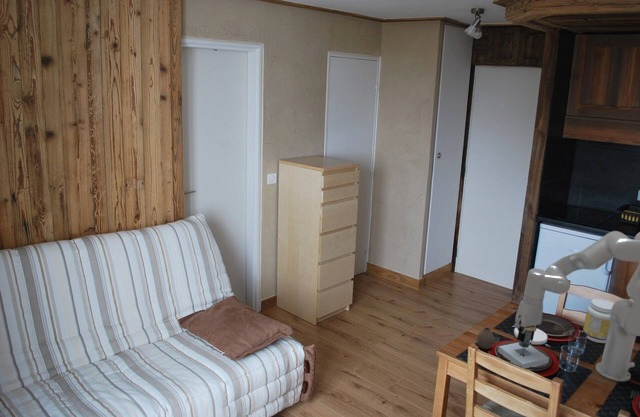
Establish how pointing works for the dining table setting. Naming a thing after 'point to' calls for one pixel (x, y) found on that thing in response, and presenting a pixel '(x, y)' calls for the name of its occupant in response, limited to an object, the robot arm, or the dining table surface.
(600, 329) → the supplement tub
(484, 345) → the vase
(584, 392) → the dining table surface
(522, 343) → the gold lidded jar
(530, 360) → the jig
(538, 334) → the plastic lid
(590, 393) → the dining table surface
